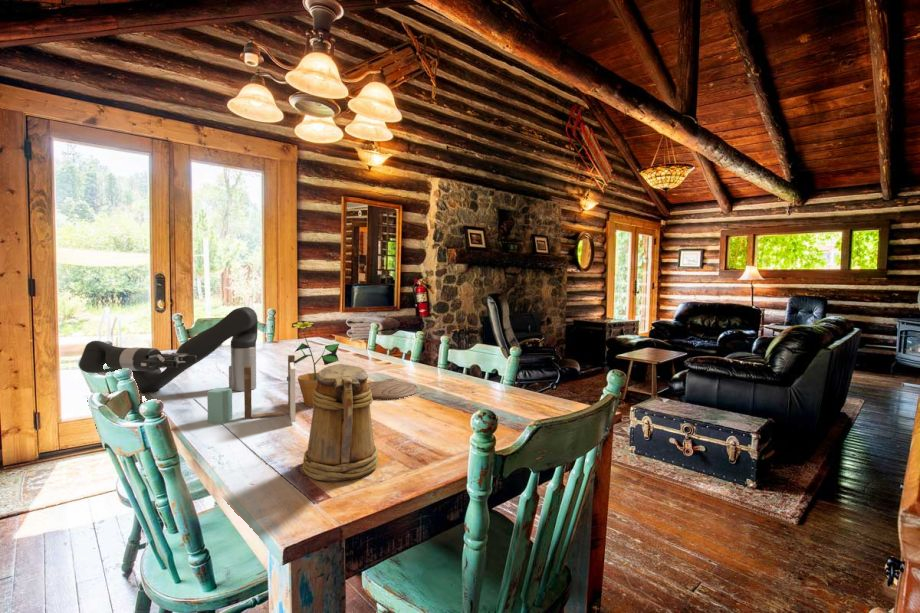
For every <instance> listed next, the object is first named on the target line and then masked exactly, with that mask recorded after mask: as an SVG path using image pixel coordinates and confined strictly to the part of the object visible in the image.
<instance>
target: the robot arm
mask: <svg viewBox="0 0 920 613" xmlns="http://www.w3.org/2000/svg"><path fill="white" fill-rule="evenodd" d="M258 324H259V323H258V315H257V313H256V311H255V310H254V309H253V308H251V307H249V306H242V307H238V308H235V309H233V310H232V311H230V312H229V313H227V315H226V316H225V317H223V318H222V319H221V320H220V321H218V322H217V323H216V324H214V325H213V326H211V327H209V328H206V329H205V330H202V331H200V333H198V334H195V335H193V336H192V337H191V338H190V339H187V340H186V341H185V342H183V343H182V344H181V345H179V347H178V349H177V350H176V352H172V353H168V352H165V353H162V352H161V351H160V350H159V349H157V348H155V347H154V348H153V347H151V348H150V347H123V346H121V347H120V346H115V345H111V344H110V343H107V342H105V341H101V340H92V341H90V342H88V343H87V344H86V345H85V346H84V349H83V352H82V355H81V357H80V359H79V363H78V367H79V369H80V370H81V371H82V372H85V373H90V374H99V373H106V374H108V373H107V372H109V371H111V372H112V371H115V370H118V369H122V368H129V369H131V370H132V372H133V375H132V378H134V379H135V381H136V383H137V385H136V387H137V386H138V387H137V389H138V391H139V393H140V394H148V393H153V392H158V391H159V390H161V389H163V388H164V387H165V386H166V385H168V384H169V383H170V382H171V381H173V380H174V379H175V378H177V377H178V376H179V375H180V374H182V373H184V372H185V371H186V370H187V369H190V368H191V367H192V366H194V365H196V364H198V362H201V361H202V360H204V359H205V358H206V357H208V356H209V355H211V354H212V353H213V352H215V351H216V350H217V349H218V348H219V347H221V345H222V344H223V343H225V342H226V341H227V340H229V339H230V365H229V366H228V389H232V391H235V392H244V366H251V391H252V390H255V389H257V346H256V345H257V340H258ZM105 363H106V364H107V366H108V367H110V368H109V369H105V370H104V369H103V365H104V364H105ZM161 369H164V370H163V371H162V370H161ZM134 379H133V380H134ZM135 381H134V382H135ZM136 383H135V384H136Z"/></svg>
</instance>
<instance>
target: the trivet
mask: <svg viewBox="0 0 920 613" xmlns="http://www.w3.org/2000/svg"><path fill="white" fill-rule="evenodd" d="M367 383H368V386H369V387H370V388H371V392H372V398H373V400H375V399H381V400H380V401H390V400H389V399H395V400H400V399H399V398H403V399H405V398H404V397H408V396H412V395H414V394H416V393H417V391H418V392H419V386H418V385H416V384H415V383H413V382H407V381H402V380H376V381H369V382H367ZM417 394H418V393H417ZM417 394H416V395H417ZM414 396H415V395H414ZM412 397H413V396H412ZM408 398H409V397H408ZM387 399H388V400H387Z"/></svg>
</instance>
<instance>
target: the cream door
mask: <svg viewBox="0 0 920 613" xmlns="http://www.w3.org/2000/svg"><path fill="white" fill-rule="evenodd" d="M286 381H287V382H288V381H290V415H289V416H290V421H291V422H292V423H294V422H295V423H296V365H295V366H294V362H291V363H290V376H289V377H288V376H286Z"/></svg>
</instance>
